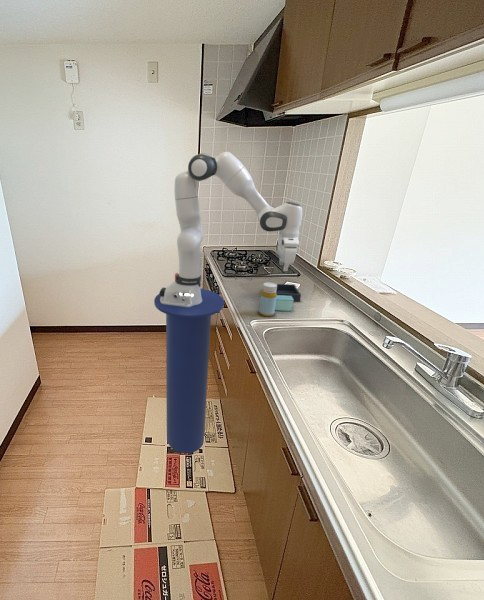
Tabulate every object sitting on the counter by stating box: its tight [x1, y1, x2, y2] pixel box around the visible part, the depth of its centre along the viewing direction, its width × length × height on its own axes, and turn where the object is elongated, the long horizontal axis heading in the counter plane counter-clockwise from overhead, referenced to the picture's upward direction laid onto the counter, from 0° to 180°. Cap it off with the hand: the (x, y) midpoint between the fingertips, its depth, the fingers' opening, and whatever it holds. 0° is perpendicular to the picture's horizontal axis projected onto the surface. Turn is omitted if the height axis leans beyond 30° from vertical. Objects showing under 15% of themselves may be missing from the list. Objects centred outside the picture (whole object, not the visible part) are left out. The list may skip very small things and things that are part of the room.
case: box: [275, 295, 295, 312], centre depth 160 cm, size 9×5×6 cm, turn 82°
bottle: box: [258, 281, 278, 318], centre depth 153 cm, size 7×7×15 cm
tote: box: [276, 283, 302, 303], centre depth 176 cm, size 15×15×4 cm
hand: (283, 267), depth 155 cm, fingers open, 8 cm apart
